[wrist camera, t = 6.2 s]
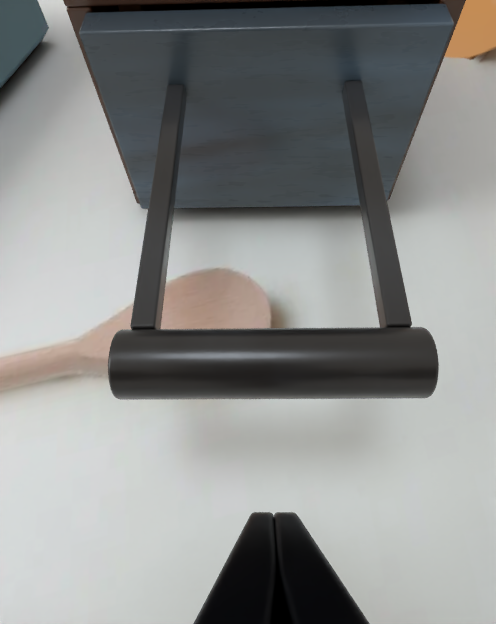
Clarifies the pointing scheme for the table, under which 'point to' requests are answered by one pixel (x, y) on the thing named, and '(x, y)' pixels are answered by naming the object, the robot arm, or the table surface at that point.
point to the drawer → (268, 174)
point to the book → (19, 33)
